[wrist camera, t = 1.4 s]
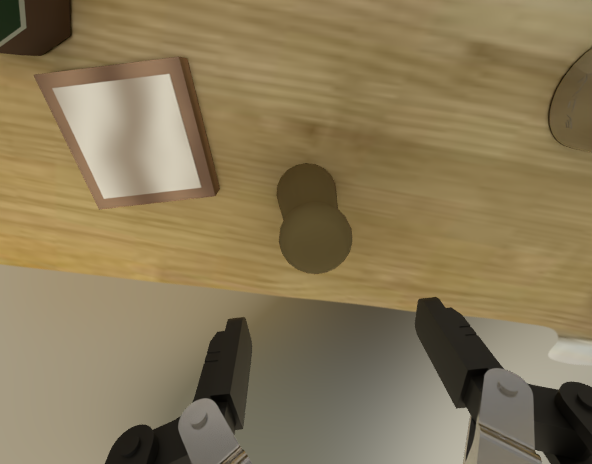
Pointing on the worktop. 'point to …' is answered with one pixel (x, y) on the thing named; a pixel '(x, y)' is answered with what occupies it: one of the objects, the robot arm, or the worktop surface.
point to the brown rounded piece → (312, 220)
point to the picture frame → (134, 131)
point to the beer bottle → (33, 25)
